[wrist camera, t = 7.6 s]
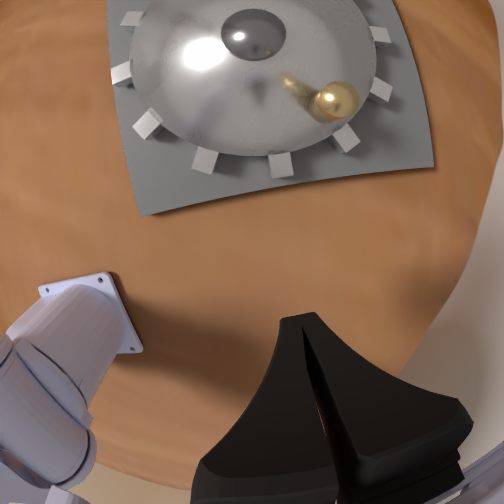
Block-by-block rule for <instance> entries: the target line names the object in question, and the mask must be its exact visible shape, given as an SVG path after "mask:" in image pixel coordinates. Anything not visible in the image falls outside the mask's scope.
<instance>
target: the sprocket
mask: <svg viewBox="0 0 504 504" xmlns="http://www.w3.org/2000/svg"><path fill="white" fill-rule="evenodd" d="M120 26H121V27H122V28H123V29H124V30H126V31H127V32H134V34H133V37H132V41H131V46H130V54H129V61H128V62H125V63H123V64H121V65H118V66H116V67H114V68H112V69H111V76H112V85H115V86H117V87H120V88H122V87H124V86H127V85H129V84H132V83H133V84H134V87H135V89H136V92H137V94H138V96H139V98H140V100H141V101H142V103H143V105H144V106H145V108H146V109H147V110H148V111H147V112H146V113H145V114H144V115H143V116H142V117H141V118H140V119H139V120H138V121H137V122H136V123H135V124H134V125H133V126H132V127H133V128H134V129H135V131H136V132H137V133H138V134H139V135H140V136H141V137H142V138H143V139H144V140H150V141H151V140H152V139H153V138H154V137H155V136H156V135H157V134H158V133H159V132H160V131H161V130H162V129H163V128H164V127H165V128H166V129H168V130H169V131H171V132H172V133H173V134H175V135H176V136H178V137H180V138H182V139H184V140H186V141H188V142H190V143H192V144H194V145H197V146H198V149H197V152H196V155H195V159H194V162H193V165H192V168H191V169H194V170H198V171H201V172H204V173H207V174H211V175H212V174H214V172H215V169H216V166H217V163H218V160H219V157H220V154H221V153H225V154H232V155H240V156H266V155H267V158H268V164H269V169H270V175H271V178H272V179H274V178H280V177H286V176H292V175H294V174H293V168H292V162H291V157H290V152H291V151H296V150H299V149H302V148H305V147H308V146H311V145H313V144H315V143H317V142H319V141H321V140H323V139H326V138H327V137H328V138H329V139H330V141H331V142H332V143H333V145H334V146H335V147H336V148H337V150H338V151H339V152H340V153H347V152H348V151H349V150H351V149H352V148H353V147H354V146H356V145H357V144H358V143H359V142H361V141H360V140H359V138H358V137H357V136H356V134H355V133H354V131H353V130H352V129H351V127H350V126H349V125H348V122H349V121H350V120H351V119H352V118H353V117H354V116H355V114H356V113H357V112H358V111H359V110H360V108H361V107H362V105H363V104H364V102H365V100H366V99H367V98H369V99H371V100H372V101H374V102H376V103H378V104H383V103H387V102H388V101H389V98H390V94H391V91H392V88H393V87H392V86H391V85H389V84H387V83H386V82H384V81H382V80H380V79H379V78H377V77H375V73H376V59H377V58H376V48H375V47H378V48H385V47H386V46H388V45H389V44H391V40H390V37H389V34H388V31H387V28H382V27H374V26H369V25H368V23H367V21H366V19H365V17H364V15H363V14H362V12H361V11H360V9H359V8H358V7H357V5H356V4H355V3H354V2H353V0H153V1H152V2H151V3H150V4H149V5H148V7H147V8H146V9H145V11H144V12H139V11H127V13H126V15H125V17H124V18H123V20H122V22H121V24H120Z"/></svg>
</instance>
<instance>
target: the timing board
mask: <svg viewBox="0 0 504 504" xmlns="http://www.w3.org/2000/svg"><path fill="white" fill-rule="evenodd" d="M152 1H153V0H107V26H108V43H109V56H110V66H111V69H112V68H114V67H116V66H118V65H121V64H123V63H125V62H128V61H129V54H130V46H131V41H132V37H133V34H134V32H127V31H126V30H124V29H123V28H122V27H121V26H120V24H121V22H122V20H123V18H124V17H125V15H126V13H127V11H139V12H144V11H145V9H146V8H147V7H148V5H149V4H150V3H151V2H152ZM353 2H354V3H355V4H356V5H357V7H358V8H359V9H360V11H361V12H362V14H363V15H364V17H365V19H366V21H367V23H368V25H369V26H374V27H382V28H387V31H388V34H389V37H390V40H391V44H389V45H388V46H386V47H385V48H378V47H375V48H376V58H377V59H376V73H375V77H377V78H379V79H380V80H382V81H384V82H386V83H387V84H389V85H391V86H392V87H393V88H392V91H391V94H390V98H389V101H388V102H387V103H383V104H378V103H376V102H374V101H372V100H371V99H369V98H367V99H366V100H365V102H364V104H363V105H362V107H361V108H360V110H359V111H358V112H357V113H356V114H355V116H354V117H353V118H352V119H351V120H350V121H349V122H348V125H349V126H350V127H351V129H352V130H353V131H354V133H355V134H356V136H357V137H358V138H359V140H360V141H361V142H359V143H358V144H357V145H356V146H354V147H353V148H352V149H351V150H349V151H348V152H347V153H340V152H339V151H338V150H337V148H336V147H335V146H334V145H333V143H332V142H331V141H330V139H329V138H328V137H327V138H326V139H323V140H321V141H319V142H317V143H315V144H313V145H311V146H308V147H305V148H302V149H299V150H296V151H291V152H290V157H291V162H292V168H293V174H294V175H292V176H286V177H280V178H274V179H272V178H271V175H270V169H269V164H268V158H267V155H266V156H240V155H232V154H225V153H221V154H220V157H219V160H218V163H217V166H216V169H215V172H214V174H212V175H211V174H207V173H204V172H201V171H198V170H194V169H191V168H192V165H193V162H194V159H195V155H196V152H197V149H198V146H197V145H194V144H192V143H190V142H188V141H186V140H184V139H182V138H180V137H178V136H176V135H175V134H173V133H172V132H171V131H169V130H168V129H166V128H165V127H164V128H163V129H162V130H161V131H160V132H159V133H158V134H157V135H156V136H155V137H154V138H153V139H152V140H151V141H150V140H144V139H143V138H142V137H141V136H140V135H139V134H138V133H137V132H136V131H135V129H134V128H133V127H132V126H133V125H134V124H135V123H136V122H137V121H138V120H139V119H140V118H141V117H142V116H143V115H144V114H145V113H146V112H147V111H148V110H147V109H146V108H145V106H144V105H143V103H142V101H141V100H140V98H139V96H138V94H137V92H136V89H135V87H134V84H133V83H132V84H129V85H127V86H124V87H122V88H120V87H117V86H115V85H113V91H114V98H115V105H116V111H117V117H118V123H119V128H120V133H121V139H122V144H123V149H124V153H125V158H126V162H127V167H128V171H129V175H130V180H131V184H132V188H133V192H134V195H135V199H136V203H137V207H138V210H139V214H140V217H143V216H147V215H151V214H155V213H159V212H163V211H167V210H171V209H175V208H179V207H183V206H187V205H191V204H196V203H200V202H205V201H209V200H214V199H218V198H223V197H228V196H232V195H237V194H242V193H247V192H252V191H257V190H263V189H268V188H274V187H279V186H285V185H291V184H296V183H303V182H309V181H315V180H322V179H328V178H335V177H342V176H350V175H357V174H366V173H374V172H383V171H392V170H402V169H413V168H425V167H434V160H433V150H432V142H431V135H430V128H429V122H428V116H427V111H426V105H425V100H424V96H423V91H422V87H421V83H420V79H419V75H418V71H417V68H416V64H415V61H414V57H413V54H412V51H411V48H410V45H409V42H408V39H407V36H406V33H405V31H404V28H403V25H402V23H401V20H400V18H399V15H398V13H397V11H396V8H395V6H394V4H393V2H392V0H353Z"/></svg>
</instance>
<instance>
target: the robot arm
mask: <svg viewBox="0 0 504 504" xmlns="http://www.w3.org/2000/svg"><path fill="white" fill-rule="evenodd" d="M100 278H102V280H103V281H101V280H100ZM38 290H39V293H40V295H41V298H40V299H39V300H38V301H37V302H35V303H34V304H33V305H32V306H31V307H30V308H29V309H28V310H27V311H26V312H25V313H24V314H22V315H21V316H20V317H19V318H18V319H17V320H16V321H15V322H14V323H13V324H12V325H11V326H10V327H9V329H8V330H7V332H6V334H4V335H3V334H0V504H8V503H10V502H15V503H25V504H90V503H89V502H88V501H86V500H84V499H83V498H81V497H79V496H77V495H75V494H73V493H71V492H68V491H66V490H68V489H70V488H73V487H75V486H76V485H78V484H80V483H81V482H82V481H83V480H85V479H86V477H87V476H88V475H89V473H90V472H91V470H92V468H93V465H94V462H95V458H96V452H97V444H96V439H95V436H94V434H93V433H92V431H91V430H90V429H89V427H90V425H91V423H92V420H93V417H92V416H91V414H90V413H89V412H88V410H87V409H88V407H89V405H90V403H91V401H92V399H93V397H94V395H95V394H96V392H97V390H98V388H99V386H100V384H101V382H102V380H103V378H104V376H105V375H106V373H107V371H108V369H109V367H110V365H111V364H112V362H113V360H114V358H115V356H116V355H117V354H123V353H141V352H142V351H143V346H142V344H141V342H140V340H139V338H138V336H137V334H136V331H135V329H134V327H133V325H132V323H131V321H130V319H129V317H128V314H127V312H126V310H125V308H124V306H123V303H122V301H121V299H120V296H119V294H118V291H117V289H116V287H115V284H114V282H113V279H112V277H111V275H110V274H109V273H108V272H102V273H97V274H92V275H87V276H82V277H77V278H73V279H68V280H63V281H58V282H54V283H49V284H44V285H41V286H40V287H39V288H38ZM132 347H133V348H132ZM315 400H316V401H315ZM316 403H317V405H316ZM317 406H318V408H317ZM318 409H319V412H320V415H321V419H322V422H323V426H324V429H323V426H322V422H321V419H320V415H319V412H318ZM473 423H474V422H473V421H472V419H471V417H470V416H469V414H468V412H467V411H466V409H465V407H464V406H463V405H462V404H461V403H460V401H459V400H458V399H457V398H453V397H449V396H445V395H441V394H437V393H433V392H430V391H427V390H424V389H421V388H419V387H416V386H414V385H411V384H409V383H407V382H404V381H402V380H400V379H398V378H396V377H394V376H392V375H390V374H388V373H387V372H385V371H383V370H381V369H380V368H378V367H376V366H375V365H373V364H372V363H370V362H369V361H367V360H366V359H364V358H363V357H362V356H360V355H359V354H358V353H357V352H355V351H354V350H353V349H352V348H350V347H349V346H348V345H347V344H346V343H344V342H343V341H342V340H341V339H340V338H339V337H338V336H337V335H336V334H335V333H334V332H333V331H332V330H331V329H330V328H329V327H328V326H327V325H326V324H325V323H324V322H323V321H322V320H321V318H320V317H319V316H318V315H317V314H316V313H315V312H311V313H306V314H301V315H296V316H290V317H285V318H282V319H281V320H280V328H279V335H278V339H277V343H276V347H275V350H274V353H273V356H272V359H271V362H270V364H269V367H268V369H267V372H266V374H265V376H264V378H263V381H262V383H261V385H260V386H259V388H258V390H257V392H256V394H255V395H254V397H253V399H252V400H251V402H250V403H249V405H248V407H247V408H246V410H245V411H244V412H243V414H242V415H241V417H240V418H239V419H238V420H237V422H236V423H235V424H234V425H233V427H232V428H231V429H230V430H229V431H228V433H227V434H226V435H225V436H224V437H223V438H222V439H221V440H220V441H219V442H218V443H217V444H216V445H215V446H214V447H213V448H212V449H211V450H210V451H209V452H208V453H207V454H206V455H205V456H204V457H203V458H202V459H201V460H200V462H199V464H198V467H197V469H196V472H195V476H194V479H193V483H192V490H191V501H190V504H335V501H336V499H337V504H436V503H438V502H440V501H442V500H444V499H446V498H447V497H449V496H451V495H453V494H454V493H456V492H458V491H459V490H461V489H462V491H461V493H460V495H459V496H457V497H456V498H454V499H452V500H451V501H449V502H447V503H446V504H504V441H503V442H502V443H500V444H499V445H498V446H496V447H495V448H494V449H492V450H491V451H490V452H488V453H487V454H485V455H484V456H483V457H481V458H480V459H478V460H477V461H475V462H474V463H472V464H471V465H469V466H468V467H466V468H464V469H463V470H461V468H460V466H459V464H458V462H457V461H458V460H459V459H460V454H459V452H458V450H457V449H458V447H459V446H460V445H461V443H462V442H463V441H464V440H465V439H466V437H467V436H468V435H469V433H470V432H471V430H472V427H473ZM324 430H325V433H324ZM325 435H326V436H325Z"/></svg>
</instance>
